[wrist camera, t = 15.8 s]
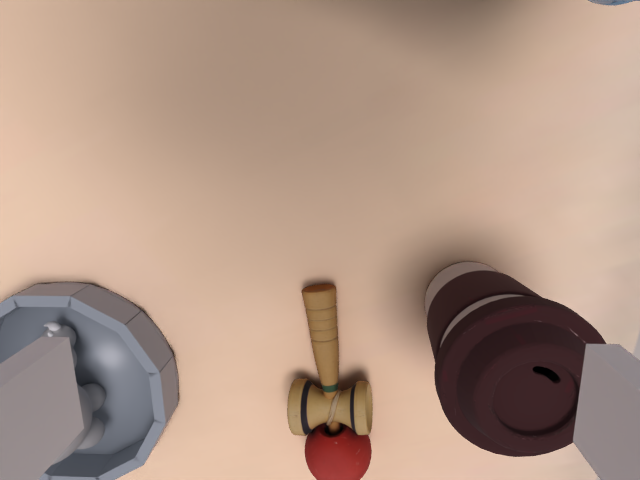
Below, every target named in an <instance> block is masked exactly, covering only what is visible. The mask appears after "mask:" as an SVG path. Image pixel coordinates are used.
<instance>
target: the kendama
mask: <svg viewBox="0 0 640 480" xmlns="http://www.w3.org/2000/svg"><path fill="white" fill-rule="evenodd" d="M302 295H303V300H304V304H305V307H306V314H307V318H308V325H309V328H310V329H309V330H310V336H311V342H312V348H313V353H314V358H315V362H316V366H317V370H318V374H319V378H320V381H321V385H322V389H323V390H321V389H319V388H318V387H316V386H315V385H314V384H313V383H312V382H311V381H310V380H309V379H296V380H294V381H293V383H292V385H291V388H290V391H289V397H288V408H287V410H288V423H289V428H290V430H291V432H292V433H293V434H294V435H303V436H306V435H308V436H307V439H306V443H305V458H306V462H307V465H308V467H309V470H310V471H311V473H312V474H313V476H314V477H315V478H316V479H317V480H360V479H361V478H362V477H363V475H364V474H365V473H366V471H367V469H368V467H369V464H370V460H371V443H370V439H369V436H368V434H369V433H370V432H371V428H372V393H371V387H370V384H369V382H368V381H357V382H356V383H355V384H354V385H353V386H352V387H350V388H349V389H347V390H344V391H342V392H341V390H338V373H339V348H338V336H337V335H338V329H337V308H336V287H335V286H334V285H331V284H320V285H313V286H309V287H306V288H304V289H303V290H302Z"/></svg>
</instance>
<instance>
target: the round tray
mask: <svg viewBox="0 0 640 480" xmlns="http://www.w3.org/2000/svg"><path fill="white" fill-rule="evenodd" d="M50 321H55V322H57V323H59V324H64V325H67V326H69V327H71V328H72V329H73V330H74V332H75V334H76V342H75V344H74V346H73V349H74V351H75V353H76V355H77V363H76V367H75V369H74V370H75V376H76V382H77V384H78V385H80V386H81V387H82V386H84V385H86V384H90V383H95V384H98V385H100V386H101V387H102V388H103V389H104V391H105V395H106V398H105V401H104V403H103V405H102V406H101V407H100V408H99V409H98V410H96V411H94V412H92V417H96V418H98V419H100V420H101V421H102V422H103V424H104V426H105V433H104V436H103V438H102V439H101V440H100V442H99V443H97V444H96V445H94V446H92V447H90V448H87V449H76V450H75V451H74V452H73V453H72V454H70V455H69V456H68V457H66V458H65V459H63V460H62V461H60V462H58V463H56V464H53V465H51V466H50V467H49V468H48V469H47V470H46V471H45V472H44V474H43V475H42V476H41V477H40V478H39V479H38V480H115V479H117V478H119V477H121V476H123V475H125V474H127V473H129V472H131V471H133V470H135V469H137V468H139V467H141V466H143V465H144V463H145V462H146V460H147V459H148V457H149V455H150V454H151V452H152V450H153V449H154V447H155V446H156V444H157V442H158V440H159V439H160V437H161V435H162V433H163V431H164V429H165V428H166V426H167V424H168V422H169V421H170V419H171V416H172V415H173V413H174V411H175V409H176V407H177V405H178V389H179V383H178V372H177V366H176V362H175V359H174V356H173V353H172V351H171V349H170V346H169V344H168V342H167V340H166V339H165V337H164V336H163V334H162V332H161V331H160V330H159V328H158V327H157V326H156V325H155V323H154V322H153V321H152V320H151V319H150V318H149V317H148V316H147V315H146V314H145V313H144V312H143V311H142V310H141V309H139V308H138V307H137V306H136V305H134V304H133V303H132V302H130V301H128V300H127V299H125V298H123V297H122V296H120V295H118V294H116V293H114V292H112V291H109V290H107V289H104V288H101V287H98V286H95V285H92V284H91V285H90V284H85V283H78V282H56V283H50V284H36V285H33V286H31V287H29V288H27V289H25V290H23V291H21V292H19V293H17V294H15V295H13V296H11V297H9V298H8V299H6V300H5V301H3V302H2V303H0V364H1V363H2V362H4V361H5V360H7V359H8V358H10V357H11V355H13V354H16V353H17V352H19V351H20V350H22V349H23V348H25V347H26V346H28V345H29V344H31V343H32V342H34V341H35V340H37V339H39V338H40V337H41V335H42V334H43V332H44V331H45V330H46V329H47V328H48V327H46V326H44V325H45V324H46V323H48V322H50Z"/></svg>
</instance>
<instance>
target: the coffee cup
mask: <svg viewBox="0 0 640 480" xmlns="http://www.w3.org/2000/svg"><path fill="white" fill-rule="evenodd" d="M425 311H426V315H427V329H428V334H429V338H430V342H431V346H432V351H433V355H434V359H435V386H436V391H437V394H438V397H439V400H440V403H441V406H442V409H443V411H444V413H445V415H446V417H447V419H448V420H449V422H450V423H451V425H452V426H453V427H454V428H455V429H456V430H457V432H458V433H459V434H461V435H462V436H463V437H464V438H465V439H467V440H468V441H470V442H471V443H473V444H474V445H476V446H478V447H480V448H481V449H484V450H487V451H490V452H493V453H495V454H501V455H506V456H514V457H522V456H536V455H541V454H546V453H550V452H552V451H555V450H558V449H561V448H563V447H566V446H567V445H569V444H571V443H573V436H574V428H575V421H576V414H577V407H578V399H579V392H580V385H581V378H582V370H583V363H584V356H585V349H586V344H606V342H605V341H604V339H603V338H602V336H601V335H600V334H599V333H598V331H597V330H596V329H595V328H594V327H593V326H592V325H591V324H589V323H588V322H587V321H586V320H584V319H583V318H582V317H581V316H579V315H578V314H577V313H575V312H574V311H573V310H571V309H569V308H568V307H566V306H564V305H562V304H559V303H557V302H554V301H551V300H548V299H545V298H542V297H541V296H539V295H538V294H536V293H535V292H533V291H531V290H530V289H528V288H527V287H525V286H524V285H522V284H521V283H519V282H518V281H516V280H515V279H513V278H511V277H510V276H507V275H505V274H503V273H499V272H498V271H496V270H495V269H493V268H492V267H490V266H488V265H485V264H482V263H478V262H461V263H457V264H453V265H451V266H449V267H447V268H445V269H443V270H442V271H441V272H440V273H438V274H437V275H436V276H435V277H434V279H433V280H432V281H431V283H430V285H429V287H428V289H427V291H426V296H425Z"/></svg>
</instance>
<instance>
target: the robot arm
mask: <svg viewBox="0 0 640 480" xmlns="http://www.w3.org/2000/svg"><path fill="white" fill-rule="evenodd" d="M588 1H590V2H593V3H597V4H602V5H620V4H624V3H628V2H632V1H640V0H588ZM83 429H84V424H83V418H82V412H81V406H80V400H79V394H78V388H77V382H76V376H75V370H74V364H73V358H72V352H71V346H70V340H69V337H40V338H39V339H37V340H35V341H34V342H32V343H31V344H29V345H28V346H26V347H25V348H23V349H22V350H20V351H19V352H17V353H16V354H14V355H13V356H11V357H10V358H8V359H7V360H5V361H4V362H2V363H1V364H0V480H38V479H39V478H40V477H41V476H42V475H43V474H44V472H45V471H46V470H47V469H48V468H49V467H50V466H51V465H52V464H53V462H54V461H55V460H56V459H57V458H58V457H59V456H60V455H61V454H62V452H63V451H64V450H65V449H66V448H67V447H68V446H69V445H70V443H71V442H72V441H73V440H74V439H75V438H76V437H77V436H78V435H79V433H80V432H81V431H82V430H83ZM573 442H574V444H575V445H576V447H577V448H578V449H579V451H580V452H581V453H582V455H583V456H584V458H585V459H586V460H587V462H588V463H589V464H590V466H591V467H592V469H593V470H594V471H595V473H596V474H597V475H598V477H599V478H600V479H601V480H640V360H638V359H637V358H636V357H635V356H633V355H632V354H631V353H630V352H628V351H627V350H626V349H624V348H623V347H622V346H621V345H619V344H586V349H585V356H584V363H583V370H582V378H581V385H580V392H579V399H578V407H577V414H576V421H575V428H574V436H573Z"/></svg>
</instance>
